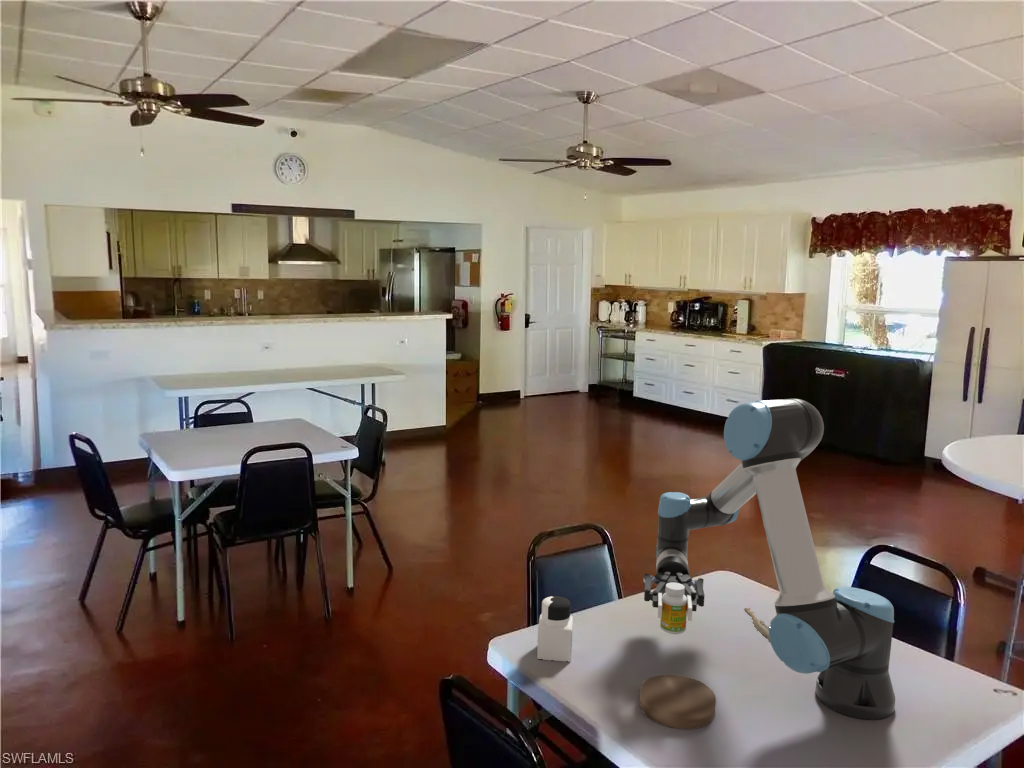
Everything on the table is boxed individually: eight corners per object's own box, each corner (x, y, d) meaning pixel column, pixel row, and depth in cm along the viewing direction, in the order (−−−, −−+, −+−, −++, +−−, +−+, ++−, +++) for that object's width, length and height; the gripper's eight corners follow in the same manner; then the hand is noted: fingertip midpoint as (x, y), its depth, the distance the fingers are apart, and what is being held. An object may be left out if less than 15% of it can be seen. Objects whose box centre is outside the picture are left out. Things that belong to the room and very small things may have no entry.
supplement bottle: (669, 636, 161) (671, 592, 160) (655, 625, 166) (657, 582, 164) (690, 632, 163) (693, 589, 162) (676, 621, 168) (678, 579, 166)
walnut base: (730, 713, 154) (731, 699, 154) (679, 738, 145) (680, 723, 145) (674, 680, 166) (675, 667, 166) (624, 701, 157) (624, 688, 157)
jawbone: (785, 654, 180) (785, 646, 180) (721, 620, 198) (721, 613, 198) (811, 642, 185) (811, 634, 185) (746, 610, 202) (746, 603, 202)
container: (572, 646, 180) (573, 593, 179) (571, 662, 173) (572, 608, 171) (539, 643, 181) (540, 591, 179) (537, 660, 174) (538, 606, 172)
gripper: (711, 589, 180) (719, 634, 157) (632, 582, 183) (629, 625, 161) (713, 558, 179) (721, 600, 156) (633, 552, 182) (630, 591, 159)
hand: (674, 612), depth 158 cm, fingers closed on supplement bottle, 5 cm apart
